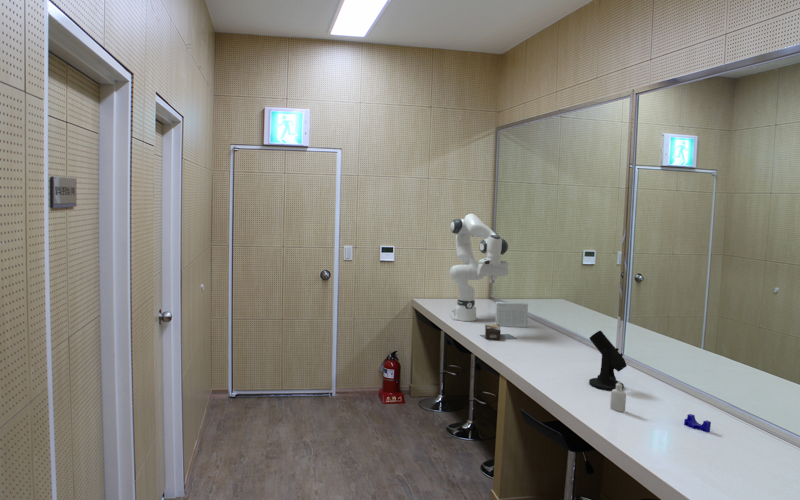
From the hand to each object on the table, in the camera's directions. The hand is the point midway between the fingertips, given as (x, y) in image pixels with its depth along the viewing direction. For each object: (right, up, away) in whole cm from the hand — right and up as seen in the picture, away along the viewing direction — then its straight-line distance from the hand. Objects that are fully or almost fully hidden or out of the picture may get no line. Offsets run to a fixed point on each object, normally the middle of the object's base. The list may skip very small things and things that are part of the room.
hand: (492, 282), depth 343 cm
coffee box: (0, -29, -1) cm, 29 cm away
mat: (+2, -33, -9) cm, 34 cm away
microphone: (+36, -42, -94) cm, 109 cm away
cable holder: (+53, -47, -140) cm, 157 cm away
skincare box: (+17, -31, +23) cm, 43 cm away
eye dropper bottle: (+29, -44, -124) cm, 135 cm away
